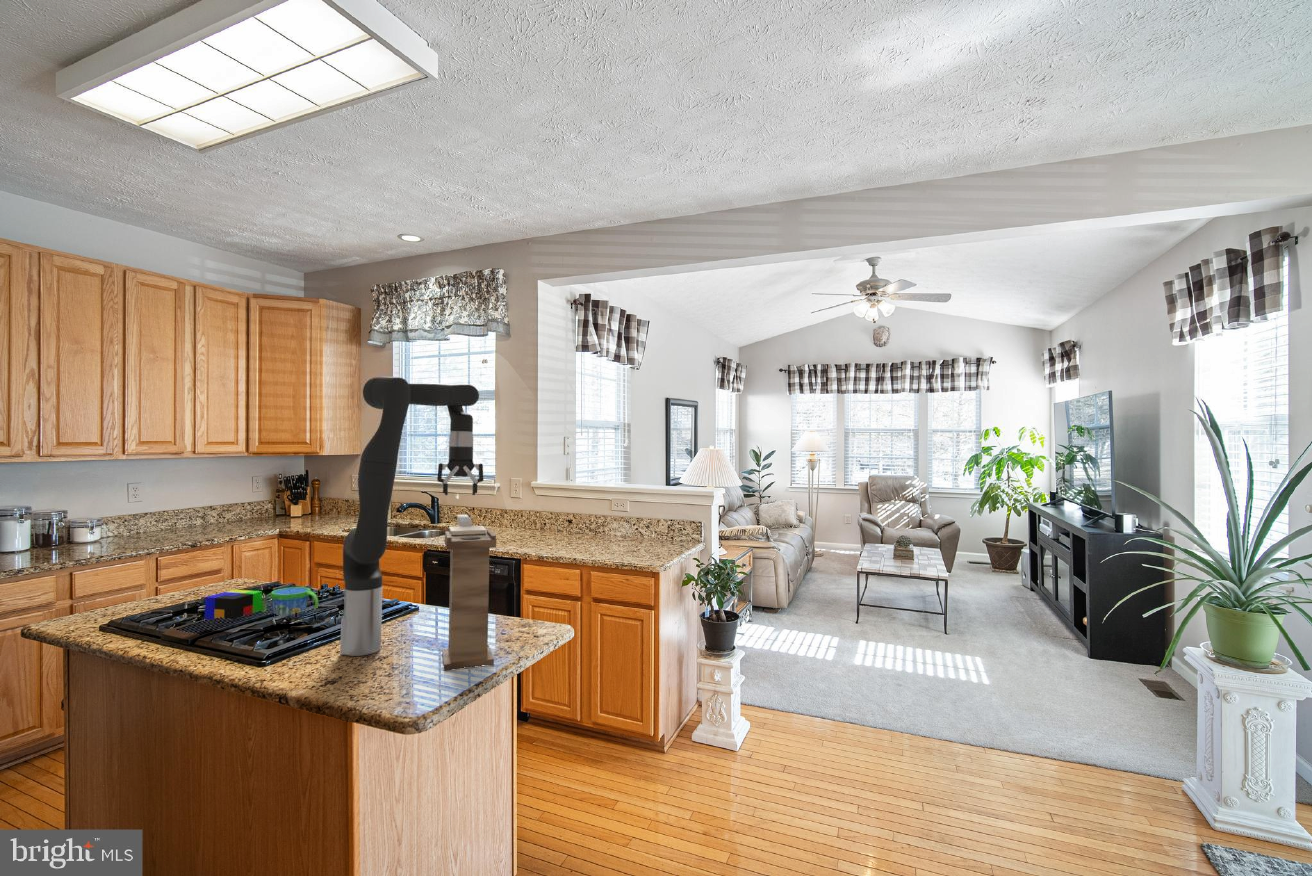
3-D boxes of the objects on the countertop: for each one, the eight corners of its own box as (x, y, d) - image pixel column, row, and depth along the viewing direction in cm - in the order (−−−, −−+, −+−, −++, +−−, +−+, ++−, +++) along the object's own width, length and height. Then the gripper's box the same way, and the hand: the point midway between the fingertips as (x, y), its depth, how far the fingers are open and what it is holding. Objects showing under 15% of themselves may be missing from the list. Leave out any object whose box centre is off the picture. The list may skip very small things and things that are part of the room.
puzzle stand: (442, 655, 159) (444, 531, 160) (488, 650, 163) (490, 529, 164) (443, 670, 148) (446, 537, 148) (493, 664, 152) (496, 535, 153)
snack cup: (323, 618, 192) (324, 586, 192) (307, 627, 181) (308, 594, 181) (273, 618, 190) (274, 586, 191) (253, 628, 180) (254, 594, 180)
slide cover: (446, 523, 182) (446, 515, 182) (477, 522, 186) (477, 514, 186) (451, 534, 158) (451, 525, 158) (486, 533, 162) (486, 524, 162)
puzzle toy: (204, 630, 177) (205, 597, 177) (233, 621, 187) (234, 589, 187) (233, 632, 175) (234, 598, 176) (261, 623, 185) (262, 591, 186)
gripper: (438, 445, 188) (437, 496, 188) (484, 445, 194) (483, 495, 193) (437, 445, 195) (436, 494, 195) (482, 445, 201) (481, 494, 200)
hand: (460, 495), depth 194 cm, fingers open, 8 cm apart
